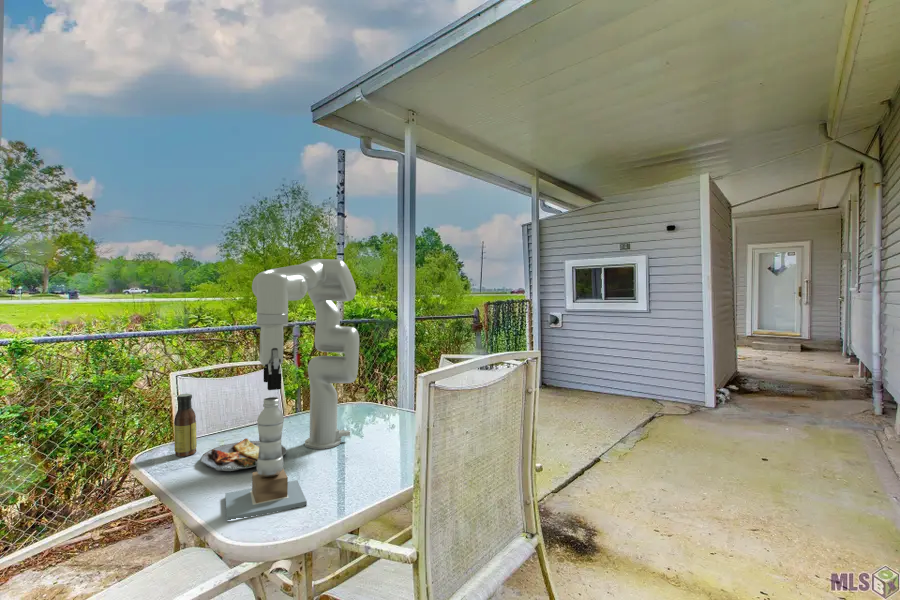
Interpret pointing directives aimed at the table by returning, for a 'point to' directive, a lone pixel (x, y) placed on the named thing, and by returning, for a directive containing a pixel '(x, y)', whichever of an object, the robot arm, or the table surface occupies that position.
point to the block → (269, 486)
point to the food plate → (234, 455)
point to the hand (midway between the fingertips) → (272, 385)
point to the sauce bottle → (185, 427)
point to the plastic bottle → (270, 439)
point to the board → (245, 505)
